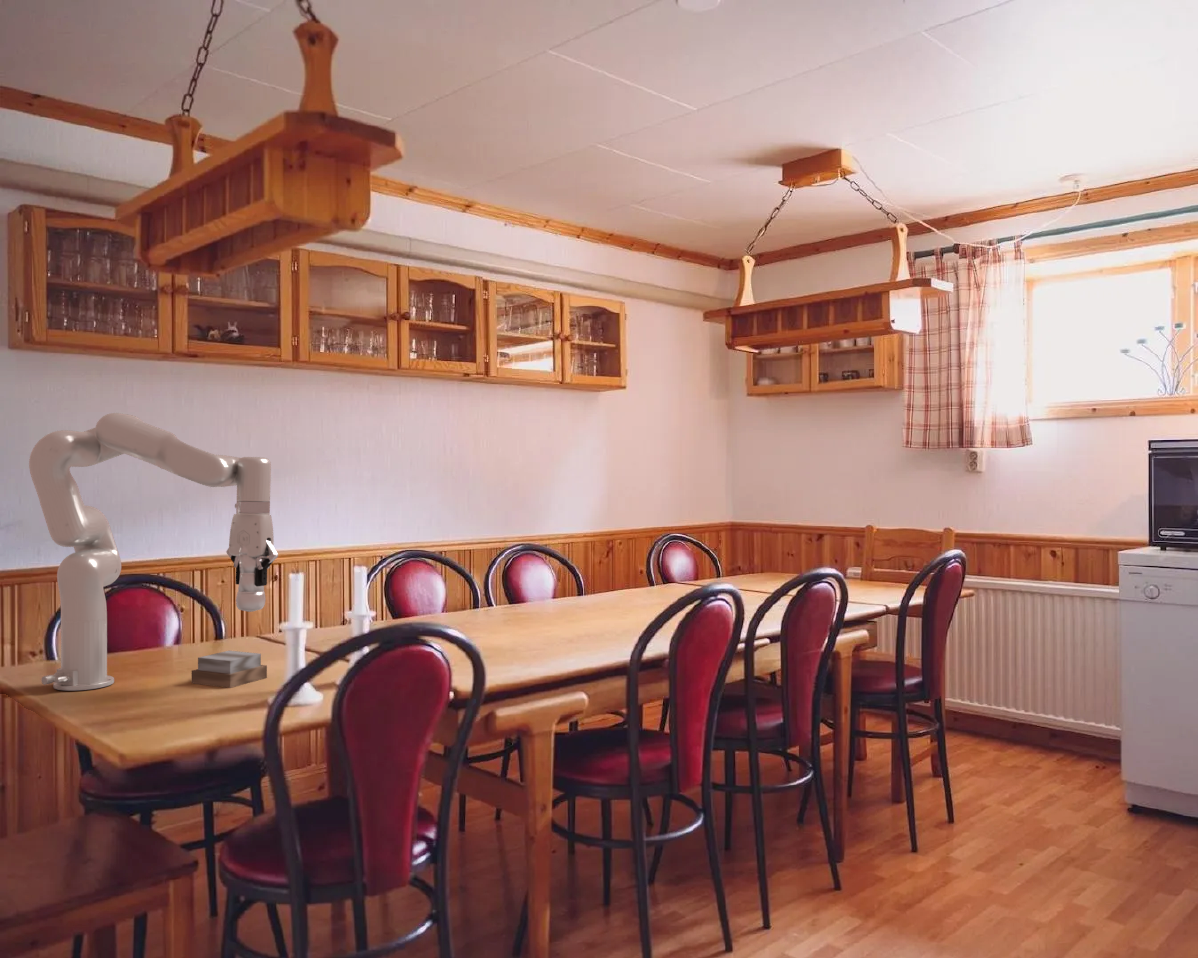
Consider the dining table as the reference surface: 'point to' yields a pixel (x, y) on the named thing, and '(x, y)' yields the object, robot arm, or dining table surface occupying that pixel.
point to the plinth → (229, 677)
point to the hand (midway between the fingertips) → (251, 584)
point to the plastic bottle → (249, 584)
